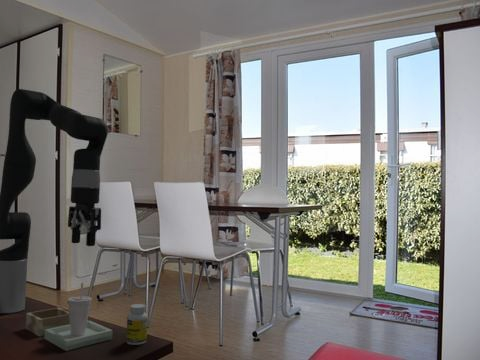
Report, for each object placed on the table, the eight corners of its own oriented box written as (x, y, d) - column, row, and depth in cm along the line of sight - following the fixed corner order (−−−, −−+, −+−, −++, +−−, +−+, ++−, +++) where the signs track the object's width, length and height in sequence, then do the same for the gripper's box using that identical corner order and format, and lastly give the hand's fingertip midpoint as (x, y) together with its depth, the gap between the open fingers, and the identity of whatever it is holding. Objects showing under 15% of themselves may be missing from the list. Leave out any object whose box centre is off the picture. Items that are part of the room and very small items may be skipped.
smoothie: (81, 338, 109) (84, 285, 110) (60, 336, 110) (62, 284, 111) (94, 331, 115) (97, 281, 116) (74, 329, 117) (76, 280, 117)
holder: (25, 328, 120) (26, 313, 120) (58, 322, 127) (58, 307, 128) (39, 336, 114) (39, 319, 114) (72, 329, 121) (73, 313, 121)
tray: (44, 338, 112) (44, 329, 112) (88, 328, 122) (89, 320, 122) (65, 350, 104) (66, 341, 104) (112, 339, 113) (112, 330, 113)
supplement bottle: (122, 343, 110) (123, 306, 110) (133, 337, 115) (135, 302, 115) (139, 346, 108) (140, 309, 108) (150, 340, 113) (151, 304, 114)
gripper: (61, 186, 117) (58, 243, 116) (85, 185, 107) (82, 247, 107) (85, 187, 123) (83, 241, 122) (111, 187, 113) (108, 246, 112)
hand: (82, 244), depth 114 cm, fingers open, 8 cm apart
